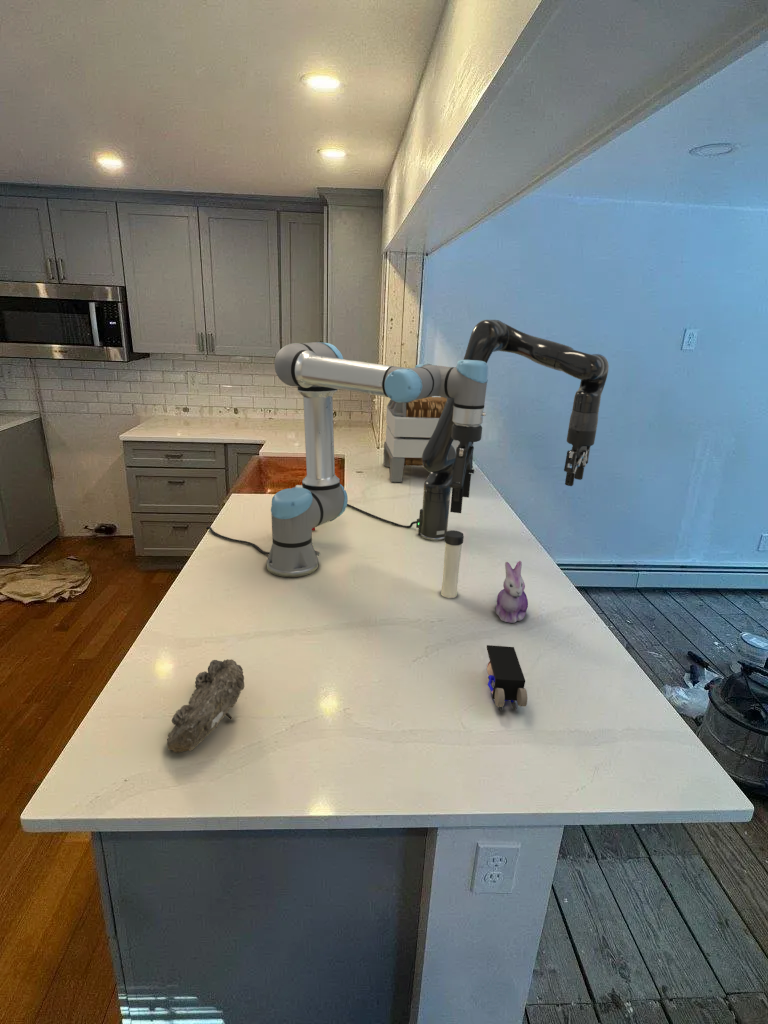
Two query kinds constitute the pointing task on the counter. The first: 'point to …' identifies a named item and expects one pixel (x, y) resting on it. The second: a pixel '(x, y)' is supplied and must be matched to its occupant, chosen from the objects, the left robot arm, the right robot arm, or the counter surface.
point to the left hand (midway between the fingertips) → (459, 504)
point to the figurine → (512, 596)
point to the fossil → (206, 705)
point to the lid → (454, 537)
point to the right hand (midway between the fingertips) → (573, 482)
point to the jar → (451, 570)
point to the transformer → (410, 432)
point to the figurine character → (506, 677)
